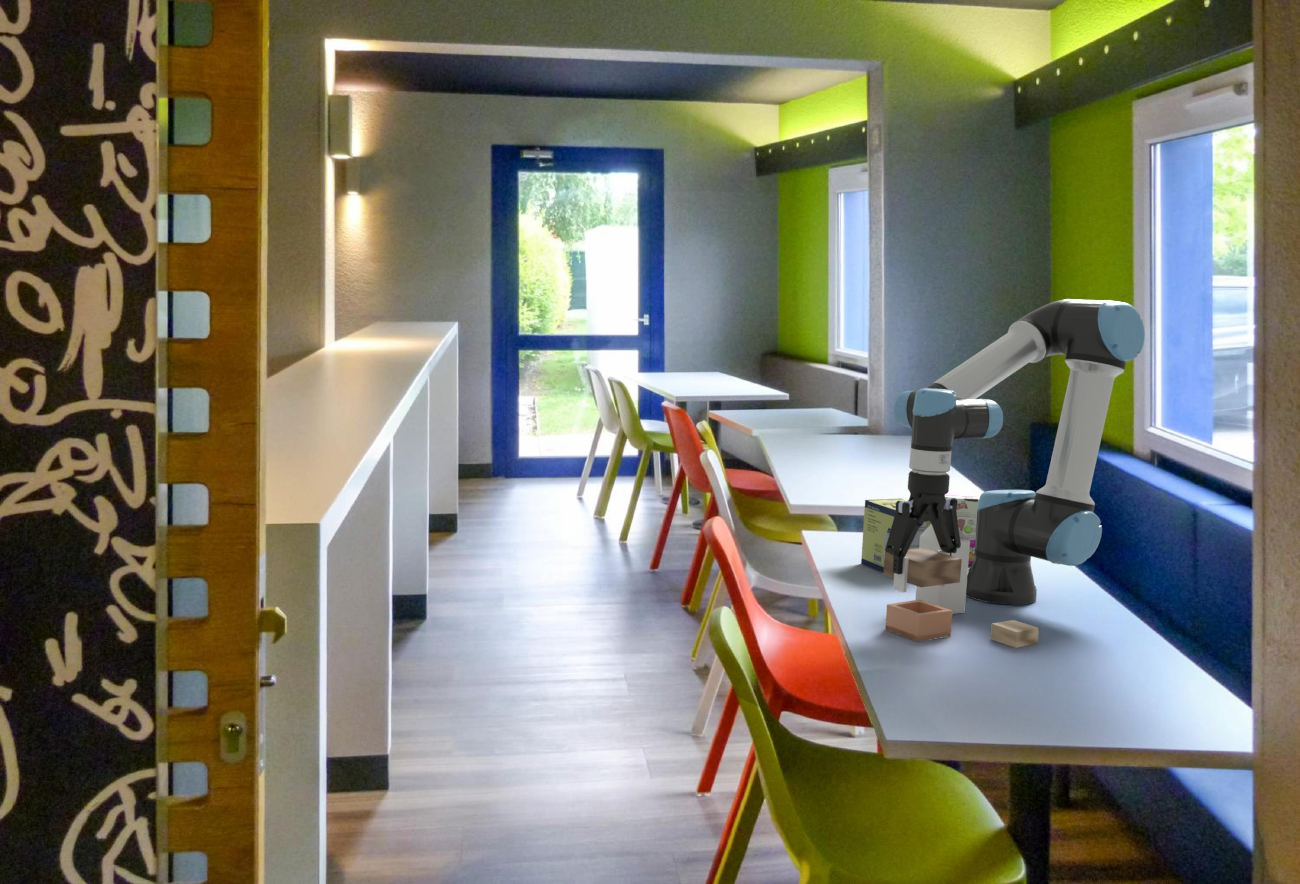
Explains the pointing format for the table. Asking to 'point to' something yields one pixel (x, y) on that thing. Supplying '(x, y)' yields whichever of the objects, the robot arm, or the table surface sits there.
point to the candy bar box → (967, 519)
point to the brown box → (927, 568)
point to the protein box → (881, 531)
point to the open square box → (918, 620)
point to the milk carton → (954, 592)
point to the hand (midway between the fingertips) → (920, 587)
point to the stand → (1014, 633)
